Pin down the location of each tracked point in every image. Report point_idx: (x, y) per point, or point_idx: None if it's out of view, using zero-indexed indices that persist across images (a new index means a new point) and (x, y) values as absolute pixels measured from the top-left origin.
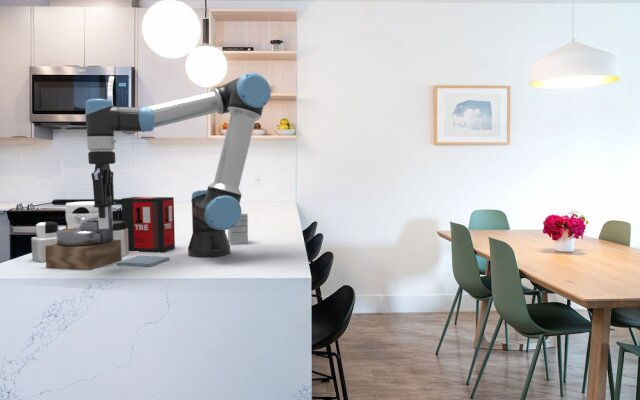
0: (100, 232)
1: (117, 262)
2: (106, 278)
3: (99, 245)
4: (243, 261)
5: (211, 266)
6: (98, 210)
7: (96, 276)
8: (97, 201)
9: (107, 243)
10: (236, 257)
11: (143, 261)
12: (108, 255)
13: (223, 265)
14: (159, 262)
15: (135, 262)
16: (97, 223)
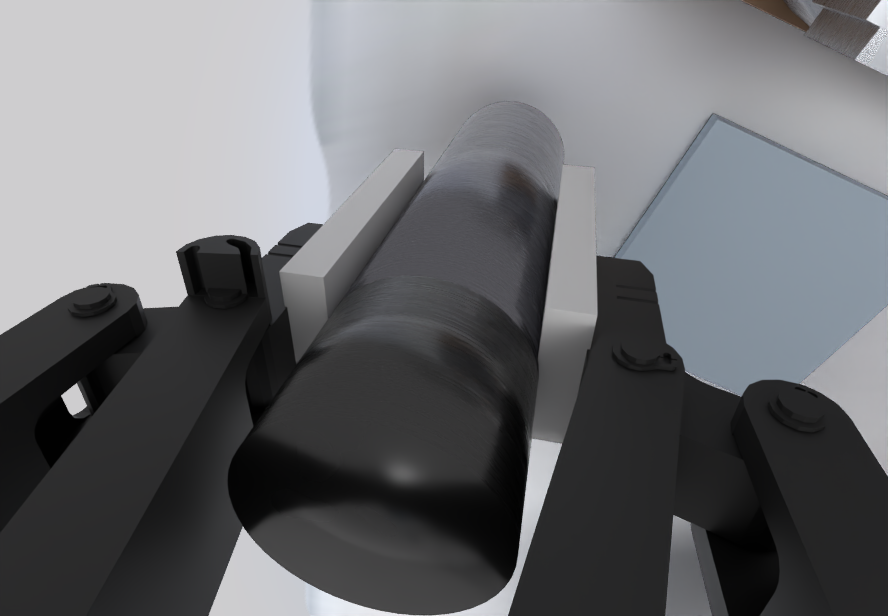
0: (462, 137)
1: (712, 124)
2: (316, 132)
3: (756, 6)
4: None
5: None
6: (306, 257)
7: (368, 57)
8: (156, 353)
9: None
10: (684, 605)
11: (670, 287)
12: None
13: (523, 547)
14: None
15: (652, 245)
16: (874, 23)
